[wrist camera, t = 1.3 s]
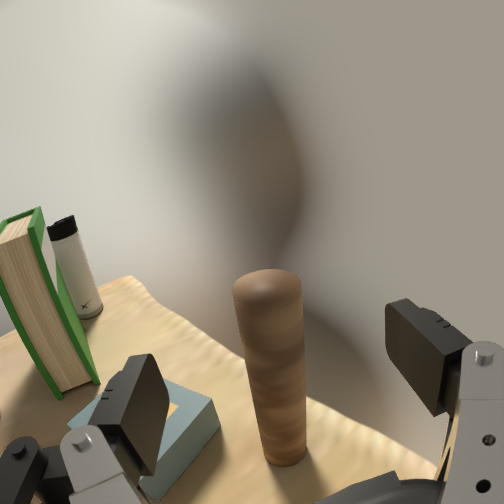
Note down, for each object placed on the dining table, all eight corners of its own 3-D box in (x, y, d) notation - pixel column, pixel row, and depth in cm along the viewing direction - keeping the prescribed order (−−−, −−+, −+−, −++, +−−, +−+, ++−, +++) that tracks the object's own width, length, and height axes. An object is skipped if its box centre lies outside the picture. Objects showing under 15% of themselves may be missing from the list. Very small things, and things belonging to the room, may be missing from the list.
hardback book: (100, 383, 39) (33, 226, 30) (58, 400, 36) (-19, 247, 26) (83, 327, 53) (40, 206, 44) (50, 340, 50) (2, 220, 40)
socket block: (86, 448, 29) (66, 423, 27) (146, 391, 38) (133, 364, 36) (158, 501, 23) (138, 481, 21) (220, 425, 32) (211, 398, 30)
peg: (256, 458, 28) (218, 297, 20) (275, 428, 31) (252, 266, 23) (296, 471, 25) (284, 309, 18) (312, 439, 29) (310, 273, 21)
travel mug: (93, 321, 55) (59, 222, 47) (71, 317, 57) (38, 225, 49) (110, 304, 61) (81, 211, 53) (88, 302, 62) (59, 214, 54)
